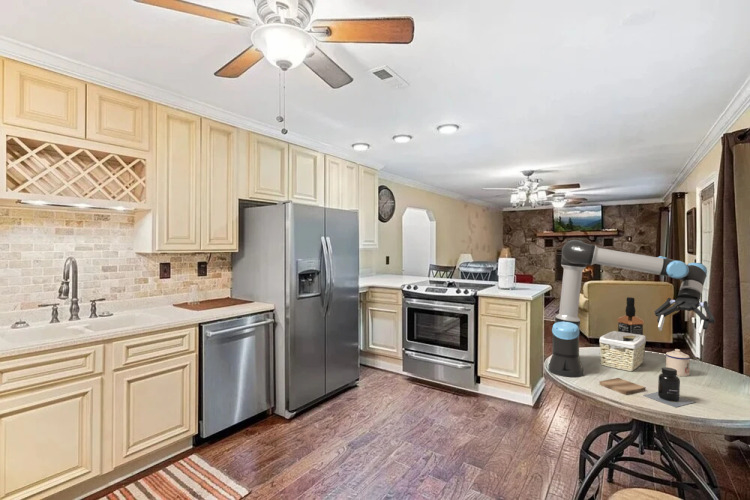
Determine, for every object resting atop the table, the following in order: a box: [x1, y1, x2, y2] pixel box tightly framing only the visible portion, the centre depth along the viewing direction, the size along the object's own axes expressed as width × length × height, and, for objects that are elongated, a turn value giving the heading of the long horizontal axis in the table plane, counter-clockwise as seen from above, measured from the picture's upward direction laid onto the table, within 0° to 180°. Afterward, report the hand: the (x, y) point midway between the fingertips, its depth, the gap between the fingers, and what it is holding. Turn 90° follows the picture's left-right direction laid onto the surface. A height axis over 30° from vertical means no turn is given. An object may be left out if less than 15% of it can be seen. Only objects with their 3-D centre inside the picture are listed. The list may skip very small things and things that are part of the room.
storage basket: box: [598, 330, 647, 372], centre depth 192 cm, size 24×16×15 cm
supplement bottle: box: [657, 366, 681, 402], centre depth 149 cm, size 7×7×12 cm
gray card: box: [643, 391, 696, 408], centre depth 150 cm, size 12×12×1 cm
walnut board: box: [599, 377, 646, 396], centre depth 161 cm, size 12×12×2 cm
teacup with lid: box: [665, 348, 691, 377], centre depth 180 cm, size 12×9×12 cm
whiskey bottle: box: [617, 296, 645, 341], centre depth 210 cm, size 10×10×32 cm
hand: (679, 331), depth 155 cm, fingers open, 13 cm apart
